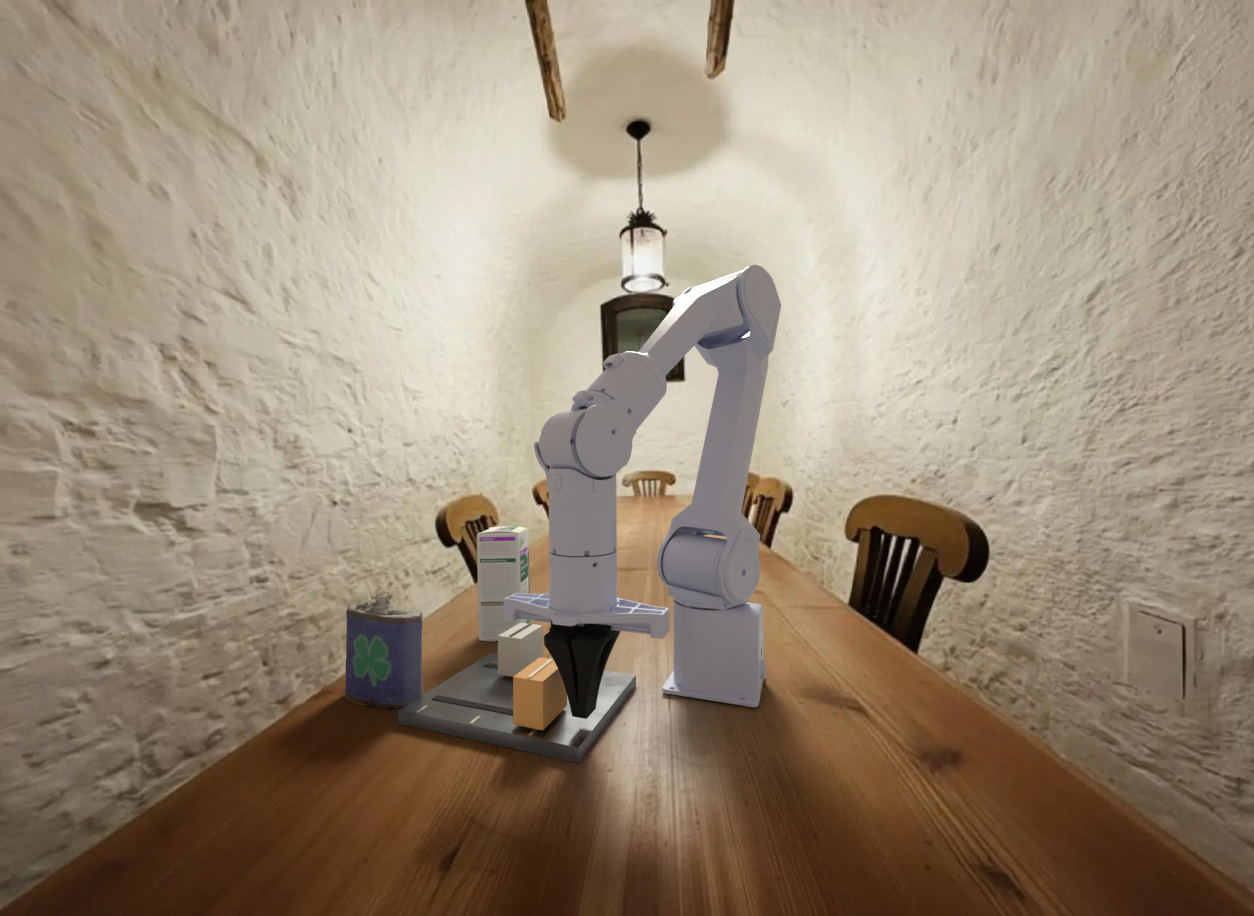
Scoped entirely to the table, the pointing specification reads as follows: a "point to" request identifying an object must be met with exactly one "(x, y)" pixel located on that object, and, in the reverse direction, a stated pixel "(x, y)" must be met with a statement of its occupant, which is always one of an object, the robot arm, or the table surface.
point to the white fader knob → (519, 648)
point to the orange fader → (538, 694)
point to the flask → (383, 654)
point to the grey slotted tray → (511, 712)
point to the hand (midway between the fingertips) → (584, 712)
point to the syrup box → (500, 576)
